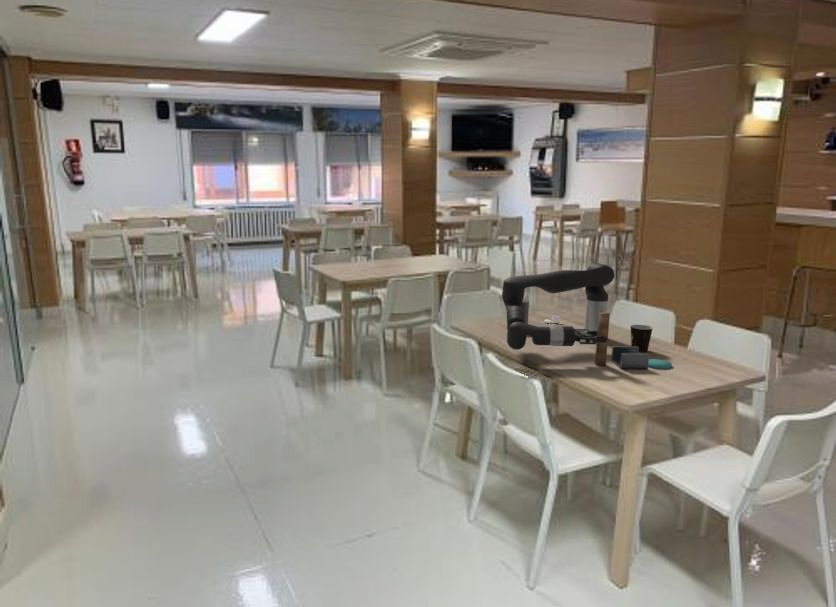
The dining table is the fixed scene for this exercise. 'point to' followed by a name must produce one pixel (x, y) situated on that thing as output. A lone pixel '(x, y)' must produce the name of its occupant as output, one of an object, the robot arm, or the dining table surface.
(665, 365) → the teal mat
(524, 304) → the pillar candle
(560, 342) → the robot arm
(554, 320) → the teacup and saucer
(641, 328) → the coffee mug
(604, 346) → the walnut dowel
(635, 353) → the metal channel
